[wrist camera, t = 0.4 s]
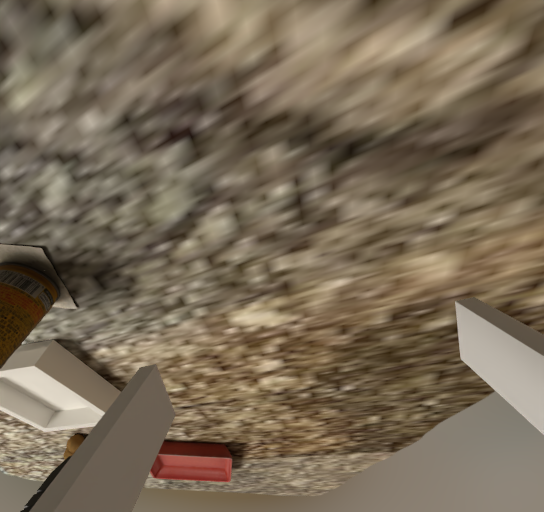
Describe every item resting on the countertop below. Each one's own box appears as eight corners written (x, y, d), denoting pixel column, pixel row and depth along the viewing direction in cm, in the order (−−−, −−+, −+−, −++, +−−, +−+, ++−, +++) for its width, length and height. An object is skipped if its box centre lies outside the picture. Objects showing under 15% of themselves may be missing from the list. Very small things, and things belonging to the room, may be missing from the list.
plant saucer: (157, 462, 66) (152, 479, 64) (145, 435, 55) (138, 454, 53) (232, 465, 68) (230, 482, 65) (234, 439, 56) (232, 458, 54)
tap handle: (72, 485, 68) (61, 448, 51) (79, 470, 71) (71, 430, 53) (85, 487, 69) (79, 450, 52) (92, 472, 71) (88, 432, 54)
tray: (-35, 355, 36) (-61, 381, 33) (53, 339, 34) (34, 365, 31) (58, 408, 46) (44, 431, 44) (130, 399, 44) (121, 423, 41)
